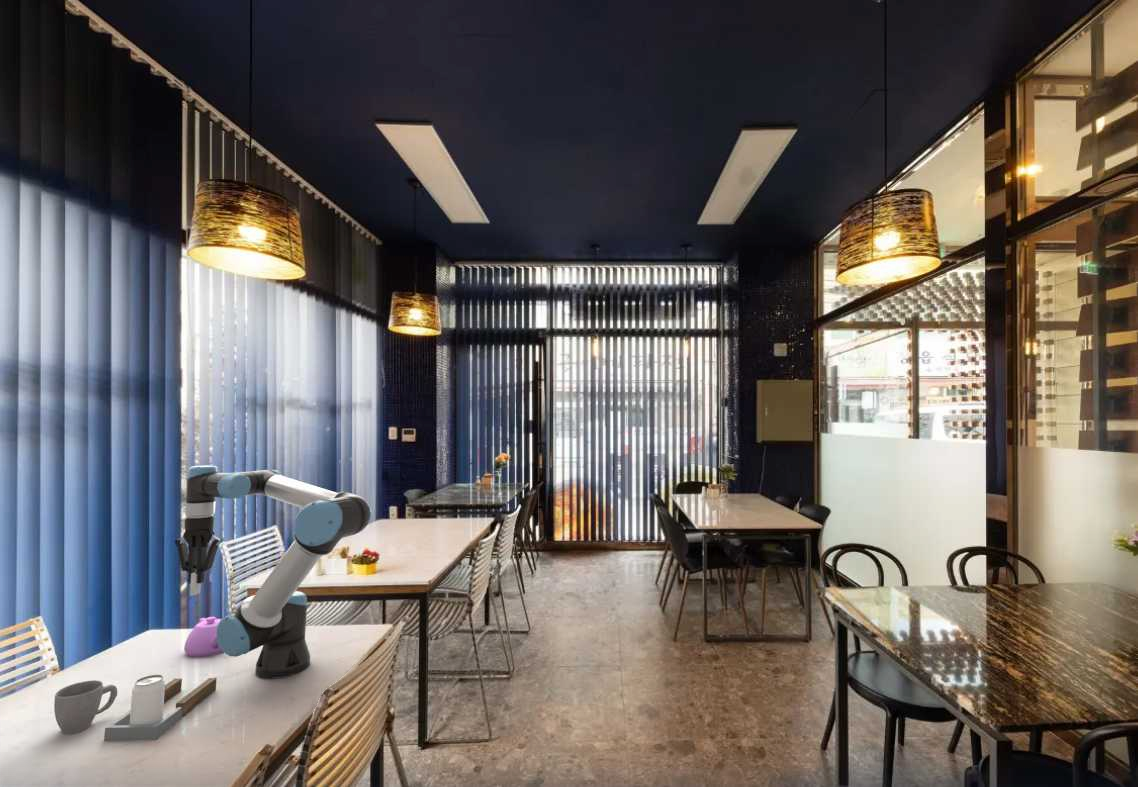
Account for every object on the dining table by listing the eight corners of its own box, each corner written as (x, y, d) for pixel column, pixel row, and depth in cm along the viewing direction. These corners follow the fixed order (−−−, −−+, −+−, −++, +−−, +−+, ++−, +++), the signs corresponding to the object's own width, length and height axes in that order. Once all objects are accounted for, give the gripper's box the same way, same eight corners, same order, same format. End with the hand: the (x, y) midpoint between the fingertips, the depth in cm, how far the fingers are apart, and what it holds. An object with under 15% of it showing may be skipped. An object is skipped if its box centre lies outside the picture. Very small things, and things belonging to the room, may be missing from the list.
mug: (57, 743, 124) (61, 701, 125) (47, 731, 129) (50, 690, 129) (121, 720, 134) (124, 681, 135) (109, 709, 139) (112, 672, 139)
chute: (215, 690, 150) (216, 677, 150) (183, 717, 136) (184, 703, 136) (173, 691, 149) (174, 678, 149) (136, 718, 135) (137, 703, 135)
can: (144, 738, 126) (148, 687, 127) (121, 735, 127) (125, 684, 128) (168, 723, 133) (172, 674, 133) (146, 721, 133) (150, 672, 134)
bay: (181, 719, 135) (182, 707, 135) (156, 739, 126) (157, 726, 126) (132, 720, 134) (133, 708, 134) (103, 740, 125) (104, 727, 125)
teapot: (194, 666, 165) (196, 631, 166) (176, 648, 178) (178, 616, 178) (243, 652, 175) (245, 619, 176) (223, 636, 188) (224, 606, 189)
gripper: (229, 514, 165) (224, 590, 164) (186, 513, 165) (181, 590, 163) (214, 517, 158) (209, 597, 156) (169, 517, 157) (164, 598, 155)
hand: (195, 593), depth 160 cm, fingers closed
